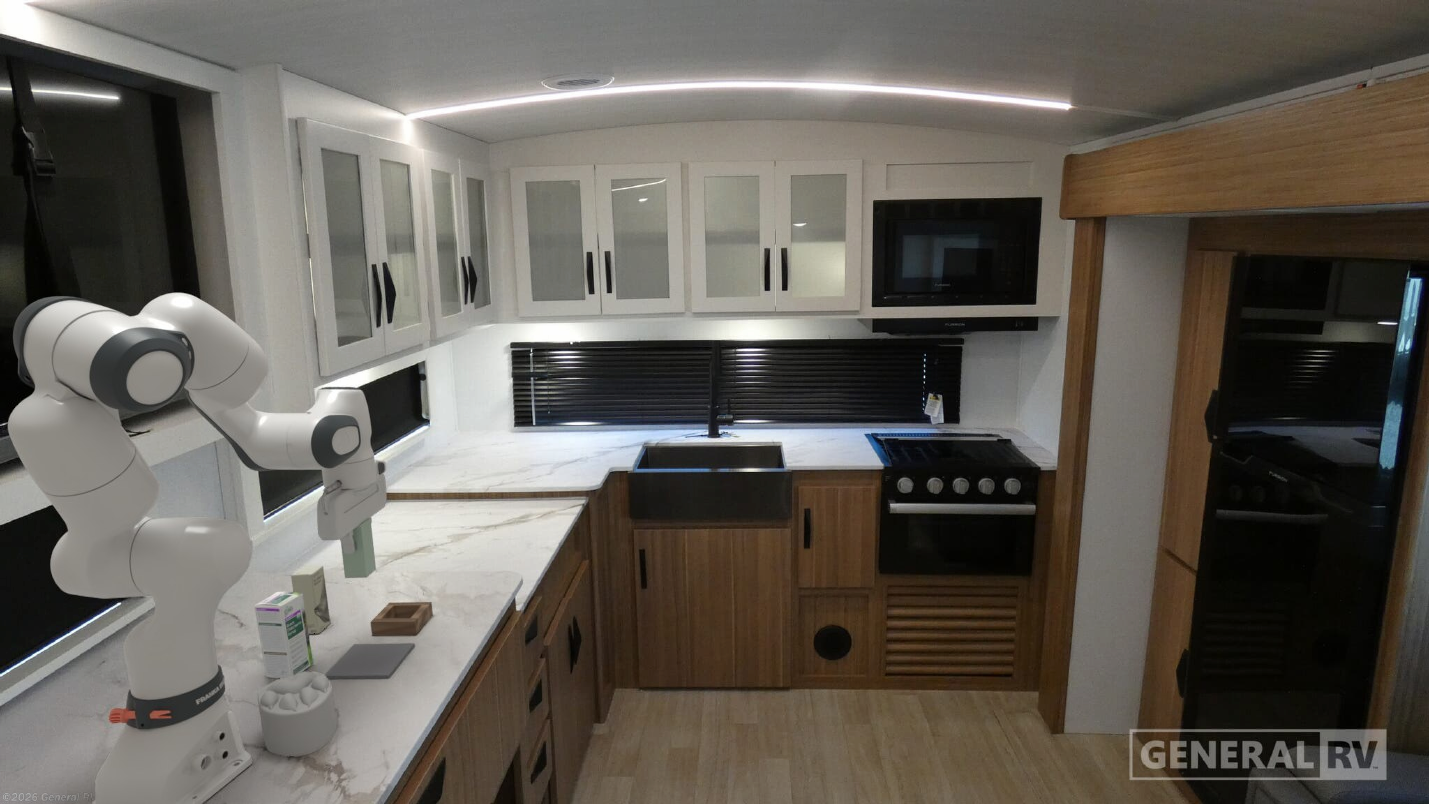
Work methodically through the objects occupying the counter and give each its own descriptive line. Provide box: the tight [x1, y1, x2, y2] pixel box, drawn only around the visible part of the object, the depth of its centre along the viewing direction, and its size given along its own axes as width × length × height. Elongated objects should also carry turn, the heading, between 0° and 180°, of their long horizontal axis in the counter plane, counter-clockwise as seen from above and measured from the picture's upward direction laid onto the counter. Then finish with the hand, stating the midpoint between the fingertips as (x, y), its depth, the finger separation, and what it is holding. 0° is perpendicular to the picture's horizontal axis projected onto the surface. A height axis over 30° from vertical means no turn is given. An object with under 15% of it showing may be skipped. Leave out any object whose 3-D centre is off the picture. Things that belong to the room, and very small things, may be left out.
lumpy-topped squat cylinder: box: [257, 671, 338, 758], centre depth 132 cm, size 10×13×9 cm
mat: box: [324, 642, 416, 680], centre depth 155 cm, size 12×12×1 cm
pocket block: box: [370, 601, 434, 637], centre depth 170 cm, size 9×9×3 cm
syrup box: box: [253, 591, 314, 679], centre depth 152 cm, size 6×6×14 cm
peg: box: [340, 517, 377, 579], centre depth 152 cm, size 4×4×10 cm
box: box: [290, 565, 331, 635], centre depth 169 cm, size 5×4×13 cm
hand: (357, 547), depth 152 cm, fingers closed on peg, 4 cm apart
